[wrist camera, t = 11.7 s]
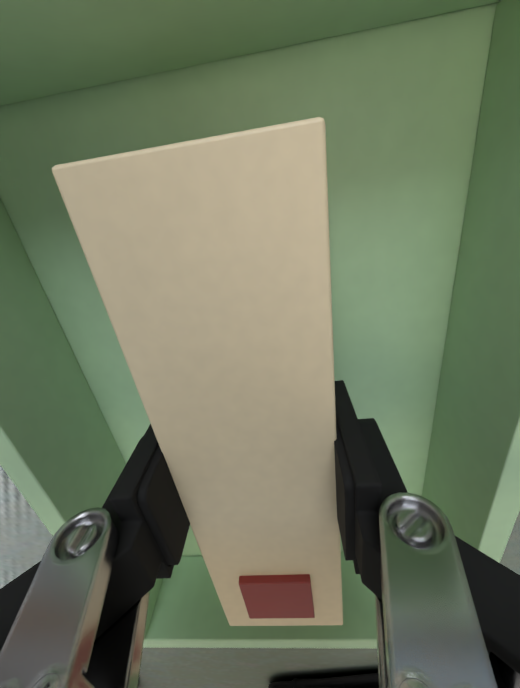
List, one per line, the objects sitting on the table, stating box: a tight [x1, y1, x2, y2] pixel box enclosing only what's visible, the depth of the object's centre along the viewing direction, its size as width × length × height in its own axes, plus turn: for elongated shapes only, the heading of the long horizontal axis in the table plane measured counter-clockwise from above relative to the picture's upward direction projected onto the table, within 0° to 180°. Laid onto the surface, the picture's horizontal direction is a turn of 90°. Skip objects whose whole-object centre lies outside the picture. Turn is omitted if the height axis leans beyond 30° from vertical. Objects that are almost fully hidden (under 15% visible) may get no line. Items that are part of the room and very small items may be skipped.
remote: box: [52, 117, 343, 626], centre depth 9 cm, size 16×4×3 cm, turn 8°
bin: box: [0, 0, 520, 648], centre depth 10 cm, size 22×15×4 cm
